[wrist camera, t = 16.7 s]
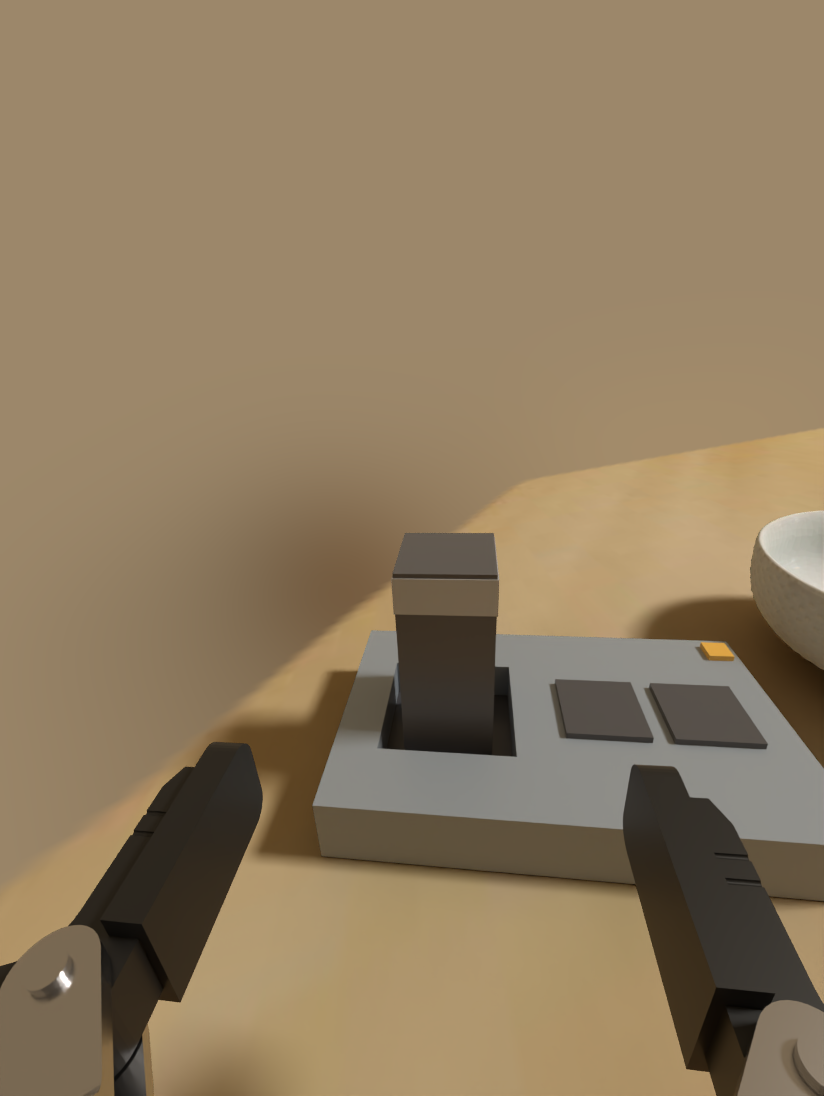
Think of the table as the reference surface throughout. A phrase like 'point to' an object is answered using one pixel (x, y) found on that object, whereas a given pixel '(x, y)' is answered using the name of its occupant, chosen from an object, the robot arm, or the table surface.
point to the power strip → (574, 763)
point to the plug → (447, 640)
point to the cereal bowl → (792, 581)
